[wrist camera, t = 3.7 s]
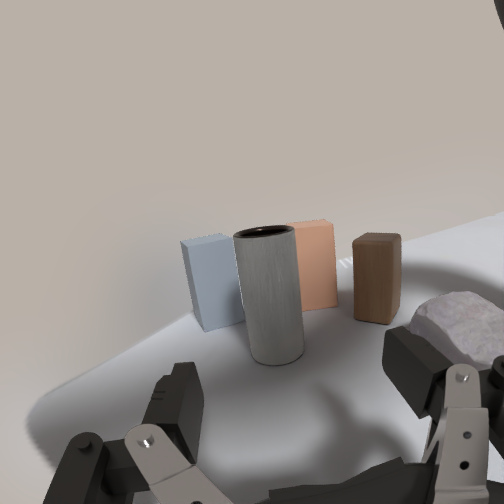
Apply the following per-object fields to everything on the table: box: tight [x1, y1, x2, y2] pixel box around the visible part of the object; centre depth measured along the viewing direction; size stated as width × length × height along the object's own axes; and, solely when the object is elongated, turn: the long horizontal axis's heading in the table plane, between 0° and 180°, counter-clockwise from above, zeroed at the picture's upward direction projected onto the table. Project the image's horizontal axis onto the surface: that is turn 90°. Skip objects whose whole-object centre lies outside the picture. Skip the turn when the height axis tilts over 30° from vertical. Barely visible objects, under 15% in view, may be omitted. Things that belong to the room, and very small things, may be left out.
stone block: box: [410, 291, 504, 371], centre depth 15 cm, size 12×5×10 cm
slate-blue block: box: [180, 233, 245, 332], centre depth 30 cm, size 4×4×9 cm
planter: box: [233, 225, 304, 365], centre depth 22 cm, size 4×4×10 cm
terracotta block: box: [286, 219, 338, 311], centre depth 31 cm, size 4×4×9 cm
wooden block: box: [352, 233, 401, 324], centre depth 25 cm, size 4×4×8 cm
